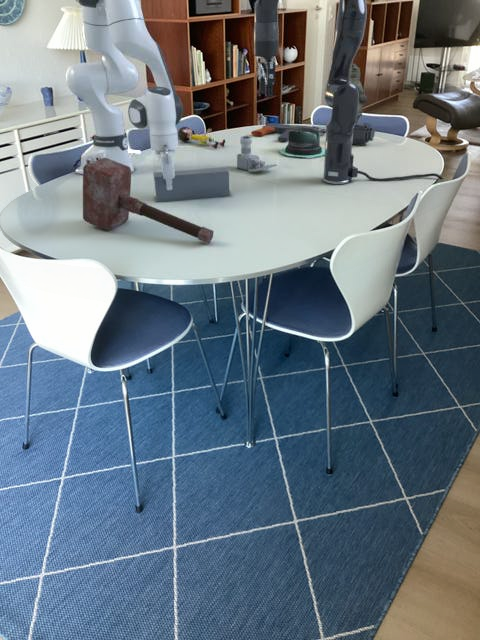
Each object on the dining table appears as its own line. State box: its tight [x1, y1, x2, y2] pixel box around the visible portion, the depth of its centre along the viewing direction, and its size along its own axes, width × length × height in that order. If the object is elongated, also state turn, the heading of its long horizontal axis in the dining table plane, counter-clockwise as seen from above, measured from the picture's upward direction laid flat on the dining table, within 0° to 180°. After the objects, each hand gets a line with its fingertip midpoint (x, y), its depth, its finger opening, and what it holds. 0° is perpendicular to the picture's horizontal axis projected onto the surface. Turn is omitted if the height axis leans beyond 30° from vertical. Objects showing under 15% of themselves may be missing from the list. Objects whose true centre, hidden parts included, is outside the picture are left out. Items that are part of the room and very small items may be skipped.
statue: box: [349, 63, 368, 125], centre depth 262 cm, size 11×9×30 cm
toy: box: [352, 122, 376, 146], centre depth 244 cm, size 9×9×15 cm
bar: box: [153, 166, 231, 203], centre depth 185 cm, size 24×6×8 cm, turn 101°
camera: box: [236, 135, 277, 173], centre depth 210 cm, size 9×12×15 cm
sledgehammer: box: [82, 158, 214, 244], centre depth 155 cm, size 17×10×40 cm
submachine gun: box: [250, 122, 326, 142], centre depth 262 cm, size 32×3×25 cm
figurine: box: [177, 126, 226, 150], centre depth 251 cm, size 13×8×25 cm
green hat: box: [279, 128, 325, 159], centre depth 234 cm, size 15×19×20 cm
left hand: (168, 185), depth 183 cm, fingers open, 8 cm apart
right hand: (266, 95), depth 177 cm, fingers open, 8 cm apart
